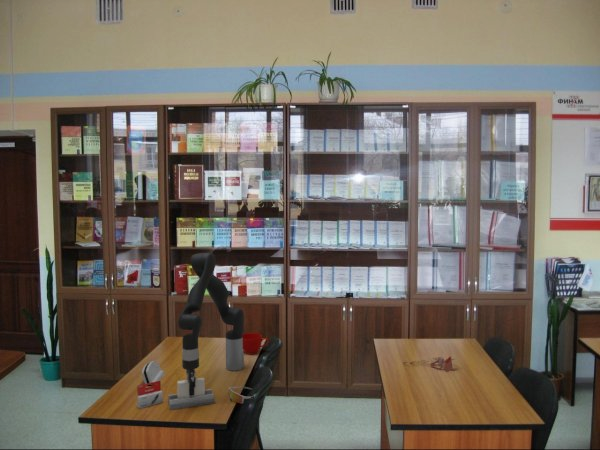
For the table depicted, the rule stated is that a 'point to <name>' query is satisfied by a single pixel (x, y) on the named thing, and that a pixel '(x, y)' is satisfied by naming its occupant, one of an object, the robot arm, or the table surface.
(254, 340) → the ceramic cup
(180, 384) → the door panel
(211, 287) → the robot arm
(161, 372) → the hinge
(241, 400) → the sunglasses
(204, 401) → the track
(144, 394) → the ink cartridge box
